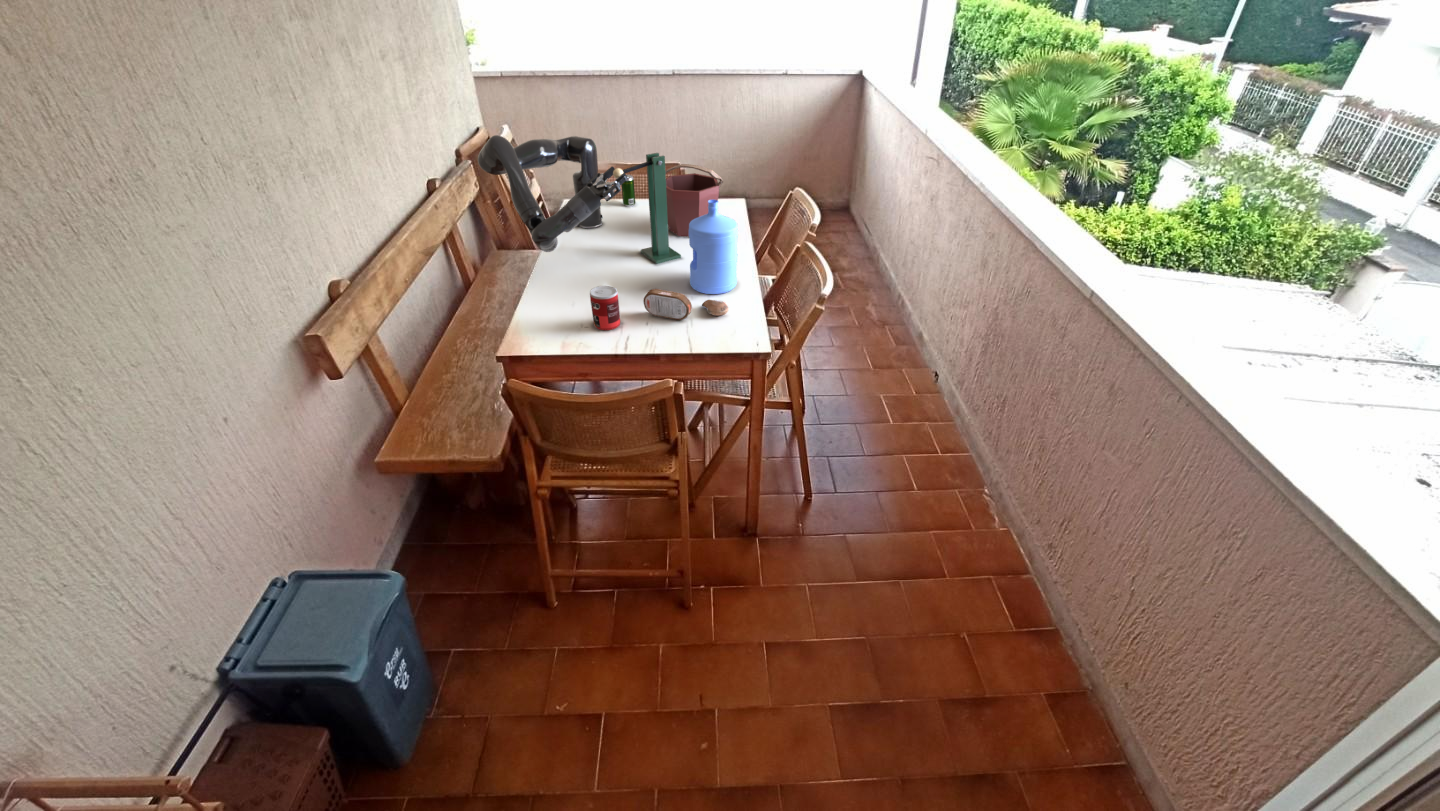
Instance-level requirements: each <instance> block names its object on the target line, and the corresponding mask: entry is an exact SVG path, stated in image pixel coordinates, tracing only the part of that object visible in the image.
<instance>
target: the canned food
mask: <svg viewBox="0 0 1440 811" xmlns="http://www.w3.org/2000/svg"><path fill="white" fill-rule="evenodd" d="M589 298H590V305H591V313H592V322H593V325H594V327H595V329H597V330H600V331H612V330H615V329H617V328H618V327H620V325H621V313H620V302H619V292H618V290H617V288H616V287H615V286H611V285H597V286H595V287H593V288H591V289H590V291H589Z"/></svg>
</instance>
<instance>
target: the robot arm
mask: <svg viewBox="0 0 1440 811" xmlns="http://www.w3.org/2000/svg"><path fill="white" fill-rule="evenodd" d="M558 162H570V163H576V164H580V170H578V171H575V172H574V173H573V174H572V183H573V190H574V195H573V196H572V197H571V198H570V199H569V200H568V201H567V202H566V203H565V204H564V206H562V207H561V208H560V209H559V210H557V212H555V213H554V214H553V215H550V216H548V217H547V218H546V217H545V214H544V213H543V210H542V208H541V207H540V205H539V203H538V201H537V200H536V197H535V195H533V193H532V192H533V191H532V190H531V189H530V186H529V183H528V180H527V178H526V176H525V173H524V170H530V169H541V168H549V167H552V166H554V165H556V164H557V163H558ZM477 163H478V165H479V167H480V169H481V170H483V171H484V172H486V173H487V174H489V175H493V176H501V175H502V176H503V175H507V179H508V183H509V190H510V197H511V201H512V204H513V206H514V209H515V210H516V212H517V214H518V216H519V218H520V219H521V221H522V223H523V224H524V225H525V227H526V228H527V229H528V231H529V233H530V235H531V240H532V242H533V243H534V245H536V247H537V249H539V250H540V251H542V252H543V253H551V252H553V251H554V250H556V249H557V247H558V243H559V242H558V236H560V235H561V234H563V233H570V232H571V231H573V230H574V229H575V228H576V227H578V228H582V229H596V228H599V227H601V226H602V225H603V220H602V219H604V217H603V214H602V209H601V206H602V200H605V201H606V202H609V201H610V200H611V199H613V198H615V196H617V195H618V194H619V193H620V192H622V188H621V185H622V184H623V183H624V182H625V181H626V180H627V179H628V177H627V176H626V175H627V173H623V174H621V175H620V176H619V177H618V178H617V179H616V178H615V180H613V181H608V180H609V179H610V178H611V177H613V171H614V170H615V169H616V168H615V167H614V166H610V167H609V168H608V169H607V170H606V171H605V172H601V173H600V172H599V162H598V149H597V145H596V143H595V141H594V140H593V139H592V138H589V137H584V136H577V135H573V136H568V137H564V138H559V139H553V138H534V139H530V140H529V139H528V140H527V141H525V142H523V143H520V144H519V145H516V146H514V145H513V144H512V143H511V142H510V141H509V140H508V139H507V138H505V137H504V136H501V135H497V134H495V135H491V137H489V139H487V141H486V142H485V144H484V145H483V146H482V148H481V150H480V151H479V153H478V156H477Z"/></svg>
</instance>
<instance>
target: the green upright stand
mask: <svg viewBox="0 0 1440 811" xmlns="http://www.w3.org/2000/svg"><path fill="white" fill-rule="evenodd" d="M654 156H657V157H654ZM651 157H652V165H649V166H646V174H647V175H646V177H647V193H648V194H647V195H648V208H649V209H648V210H649V226H650V242H651V246H650V247H646V248H641V249H640V254H641V255H643V256H644V257H646V258H647V259H649V260H650V261H651V262H652V263H654V264H655V265H658V264H663V263H667V262H670V261H674V260H675V261H676V260H679V259H682V256H681V253H679V252H678V251H676V250H674V249H673V248H671V247H670V241H669V227H668V216H667V194H666V178H667V175H666V174H667V173H666V172H665V171H666V156H665V155H660V153H659V152H652V153H647V154H645V159H646V161H645V162H647V161H650V158H651Z"/></svg>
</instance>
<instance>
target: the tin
mask: <svg viewBox="0 0 1440 811" xmlns="http://www.w3.org/2000/svg"><path fill="white" fill-rule="evenodd" d="M642 302H643V306H644V309H645V310H646V312H648V313H649V314H650V315H652V316H653V317H659V318H665V319H669V320H675V321H683V320H685V319H686V318H687V317H688V316H689V315H690V314H691V312H692V309H693V306H692V302H691V300H690V299H689V297H688V296H686V295H685V294H683V293H681V292H676V291H670V290H667V289H666V290H665V289H659V288H652V289H649V290H648V291H647V292H646V294H645V295H644V297H643V300H642Z"/></svg>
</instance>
